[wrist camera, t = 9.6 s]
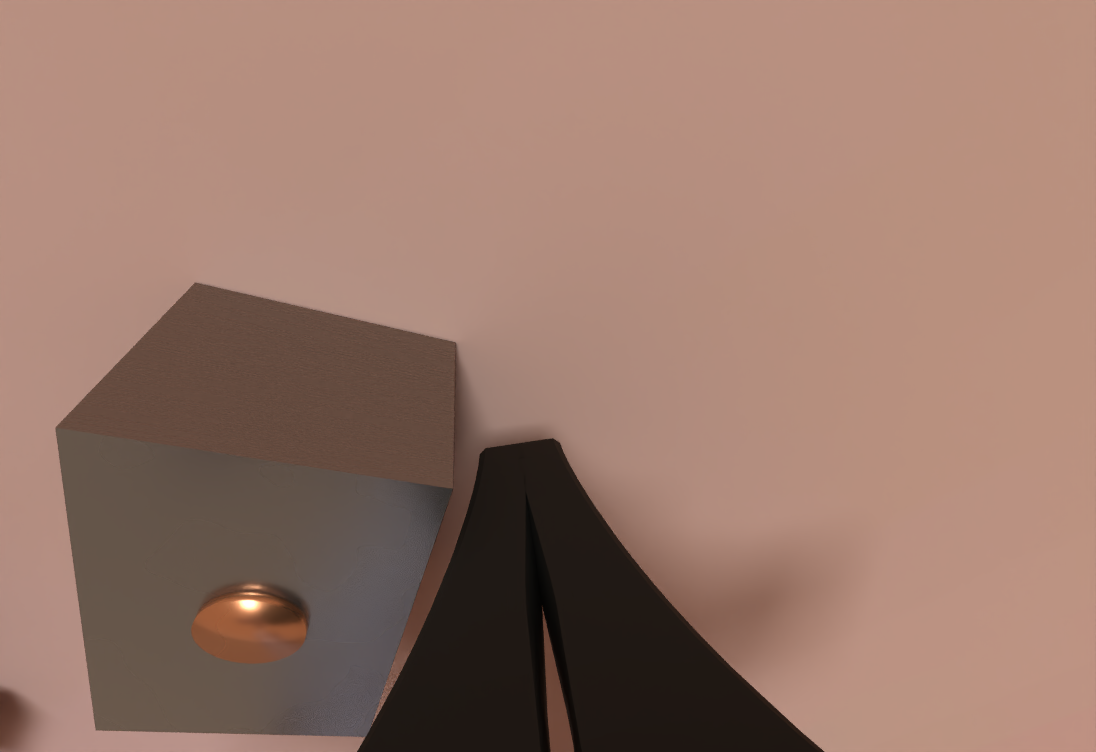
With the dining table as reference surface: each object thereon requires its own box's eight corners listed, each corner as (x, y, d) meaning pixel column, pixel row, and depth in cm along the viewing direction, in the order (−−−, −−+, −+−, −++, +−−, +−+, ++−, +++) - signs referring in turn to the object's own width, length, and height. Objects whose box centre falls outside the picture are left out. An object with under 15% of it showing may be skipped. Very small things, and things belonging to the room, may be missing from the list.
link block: (389, 567, 12) (365, 746, 9) (189, 545, 11) (90, 740, 8) (455, 342, 10) (452, 498, 7) (195, 282, 8) (45, 438, 5)
